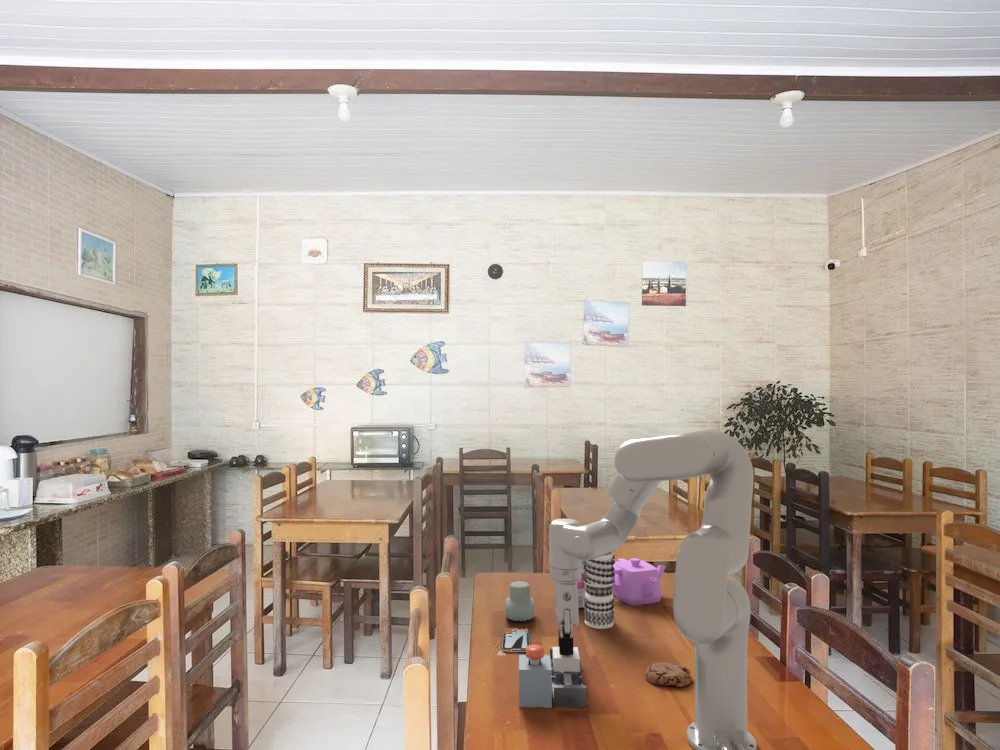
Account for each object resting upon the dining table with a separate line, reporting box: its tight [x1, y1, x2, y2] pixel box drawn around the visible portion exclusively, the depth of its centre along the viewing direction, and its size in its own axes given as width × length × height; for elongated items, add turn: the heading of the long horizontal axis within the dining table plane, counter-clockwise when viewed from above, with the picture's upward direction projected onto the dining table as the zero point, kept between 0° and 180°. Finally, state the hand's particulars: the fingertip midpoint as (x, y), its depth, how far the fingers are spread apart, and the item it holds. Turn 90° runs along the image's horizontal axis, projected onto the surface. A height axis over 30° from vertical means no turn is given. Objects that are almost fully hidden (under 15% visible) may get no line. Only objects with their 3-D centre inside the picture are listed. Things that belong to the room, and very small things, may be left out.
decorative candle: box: [583, 551, 616, 630], centre depth 173 cm, size 9×9×25 cm
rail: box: [549, 646, 588, 708], centre depth 138 cm, size 20×7×4 cm, turn 178°
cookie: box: [645, 662, 693, 688], centre depth 140 cm, size 10×11×3 cm
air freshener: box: [505, 580, 535, 623], centre depth 176 cm, size 11×8×10 cm
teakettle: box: [612, 557, 666, 606], centre depth 193 cm, size 17×17×12 cm
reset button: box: [525, 644, 545, 665], centre depth 131 cm, size 4×4×6 cm
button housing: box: [518, 654, 553, 709], centre depth 131 cm, size 7×7×8 cm
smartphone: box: [501, 628, 531, 651], centre depth 161 cm, size 7×1×15 cm
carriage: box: [551, 625, 583, 677], centre depth 141 cm, size 6×7×10 cm
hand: (565, 649), depth 141 cm, fingers closed on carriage, 3 cm apart
